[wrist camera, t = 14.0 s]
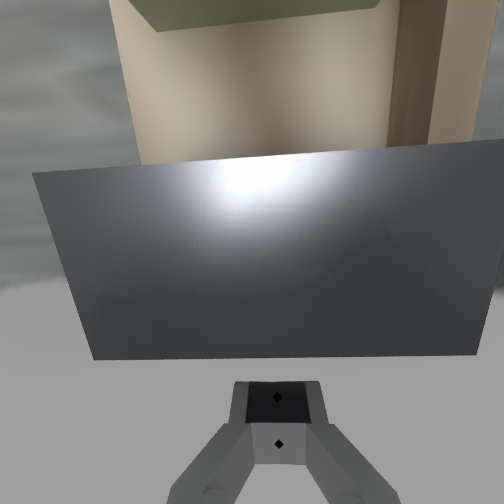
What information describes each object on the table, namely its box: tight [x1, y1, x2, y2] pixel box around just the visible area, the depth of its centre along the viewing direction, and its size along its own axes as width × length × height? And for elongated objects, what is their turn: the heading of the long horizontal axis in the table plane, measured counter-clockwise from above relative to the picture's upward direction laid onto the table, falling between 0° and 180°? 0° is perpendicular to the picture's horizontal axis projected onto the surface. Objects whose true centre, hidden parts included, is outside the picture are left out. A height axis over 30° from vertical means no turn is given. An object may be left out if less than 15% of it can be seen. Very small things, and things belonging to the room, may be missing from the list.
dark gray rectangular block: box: [32, 139, 504, 360], centre depth 8 cm, size 7×4×7 cm, turn 94°
